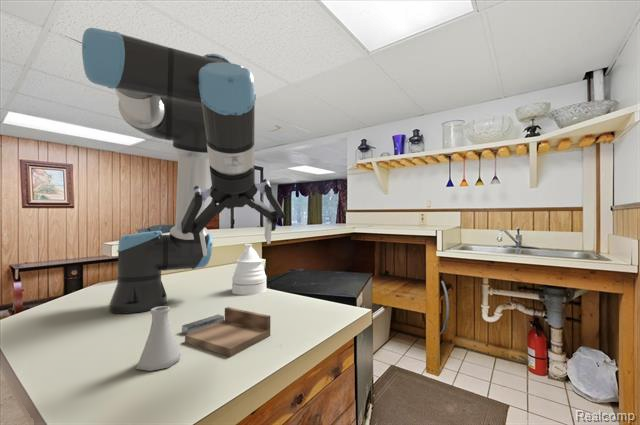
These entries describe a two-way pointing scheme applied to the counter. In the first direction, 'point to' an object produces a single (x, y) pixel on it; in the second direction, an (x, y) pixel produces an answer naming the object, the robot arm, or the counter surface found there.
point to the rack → (232, 332)
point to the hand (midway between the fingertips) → (237, 245)
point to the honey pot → (249, 274)
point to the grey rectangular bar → (201, 324)
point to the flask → (159, 343)
